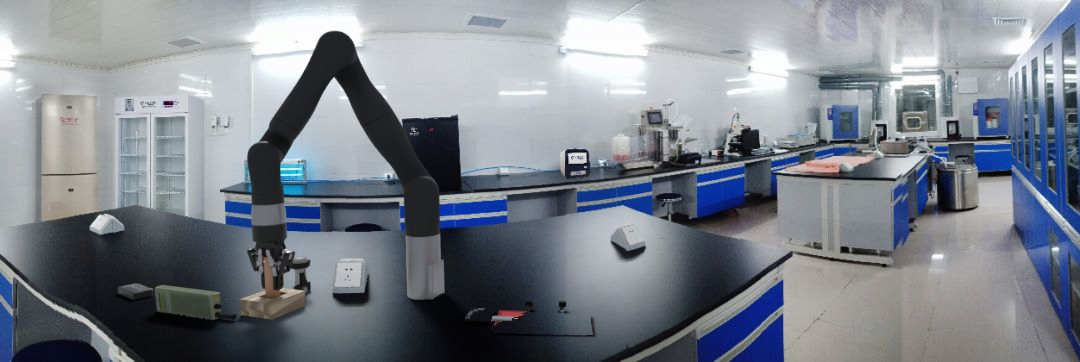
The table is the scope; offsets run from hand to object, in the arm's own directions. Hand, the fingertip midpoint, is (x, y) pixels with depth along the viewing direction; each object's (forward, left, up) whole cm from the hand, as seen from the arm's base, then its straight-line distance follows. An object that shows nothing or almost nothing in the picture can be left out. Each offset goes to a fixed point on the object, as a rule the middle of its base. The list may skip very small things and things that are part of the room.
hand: (272, 288), depth 117 cm
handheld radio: (+15, +8, -6) cm, 19 cm away
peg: (0, 0, -4) cm, 4 cm away
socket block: (0, 0, -6) cm, 6 cm away
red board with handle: (-64, -14, -6) cm, 66 cm away
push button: (+4, -12, -6) cm, 14 cm away
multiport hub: (+47, +3, -6) cm, 48 cm away
